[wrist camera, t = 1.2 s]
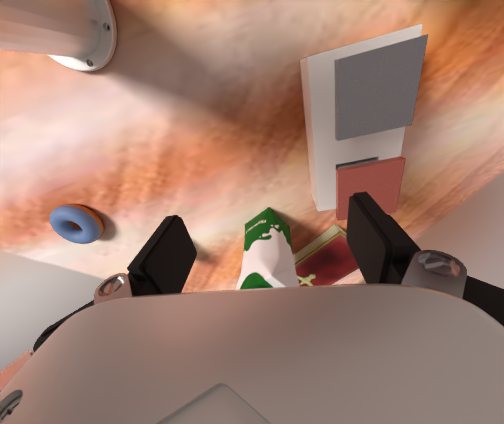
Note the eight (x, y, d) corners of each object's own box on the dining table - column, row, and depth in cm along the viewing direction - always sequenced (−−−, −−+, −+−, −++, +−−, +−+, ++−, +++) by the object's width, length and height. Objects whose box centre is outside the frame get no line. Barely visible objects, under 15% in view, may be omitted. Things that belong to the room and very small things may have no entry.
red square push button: (325, 155, 32) (337, 171, 26) (380, 144, 30) (405, 158, 25) (326, 198, 36) (338, 220, 31) (375, 190, 35) (395, 211, 29)
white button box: (299, 60, 28) (307, 56, 23) (392, 33, 26) (422, 23, 21) (311, 194, 40) (318, 211, 35) (376, 183, 38) (393, 199, 33)
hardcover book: (368, 247, 48) (376, 260, 44) (302, 288, 57) (305, 302, 54) (335, 220, 44) (341, 233, 40) (270, 269, 54) (271, 282, 50)
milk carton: (269, 201, 42) (273, 285, 25) (295, 228, 45) (314, 317, 28) (239, 224, 45) (225, 310, 29) (265, 246, 49) (266, 335, 32)
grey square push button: (321, 63, 25) (337, 59, 20) (391, 43, 24) (428, 34, 19) (324, 129, 30) (337, 140, 24) (383, 115, 28) (411, 125, 23)
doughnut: (62, 192, 42) (44, 206, 39) (112, 216, 46) (99, 230, 42) (58, 219, 48) (42, 233, 44) (103, 238, 51) (91, 252, 48)
